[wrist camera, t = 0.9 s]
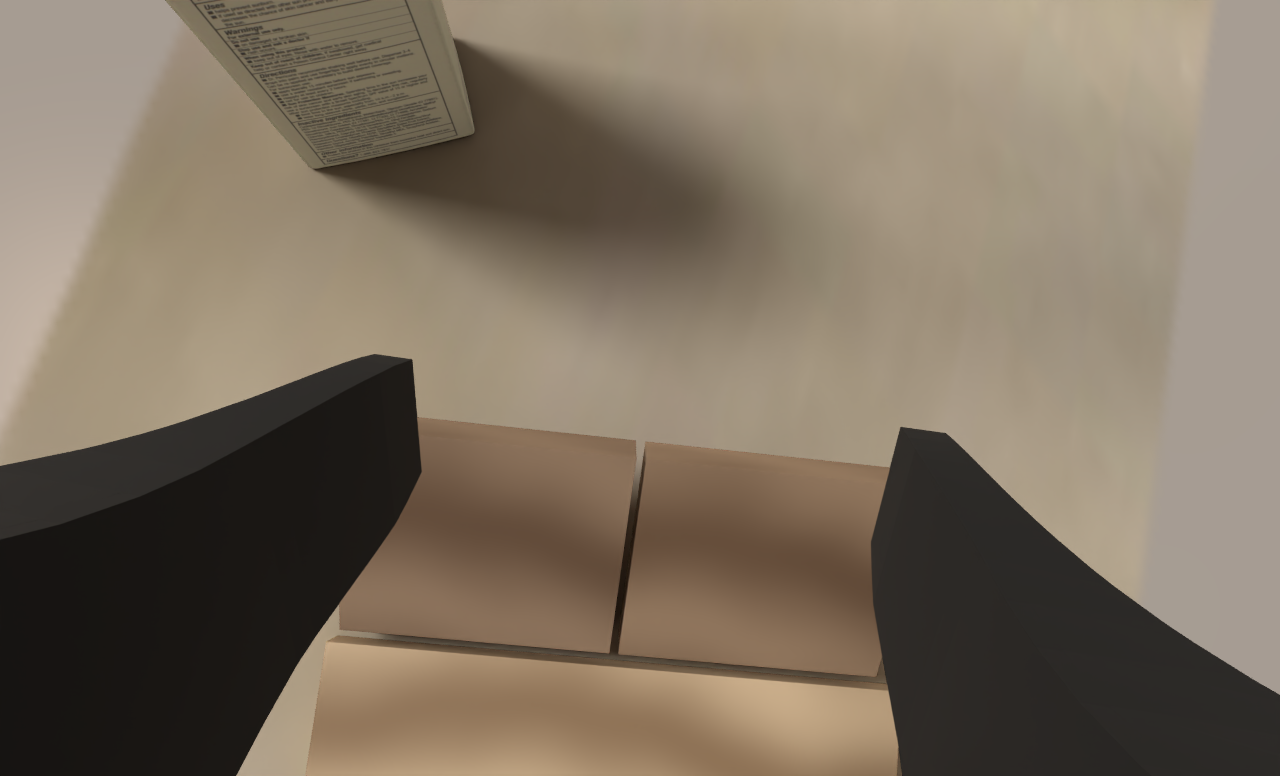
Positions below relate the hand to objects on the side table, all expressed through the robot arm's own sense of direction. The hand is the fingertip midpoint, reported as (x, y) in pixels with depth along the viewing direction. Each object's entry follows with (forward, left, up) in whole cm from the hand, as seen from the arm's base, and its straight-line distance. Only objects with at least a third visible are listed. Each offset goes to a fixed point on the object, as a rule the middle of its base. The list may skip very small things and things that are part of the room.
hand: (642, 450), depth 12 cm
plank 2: (-2, -5, -14) cm, 15 cm away
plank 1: (-2, +4, -14) cm, 14 cm away
